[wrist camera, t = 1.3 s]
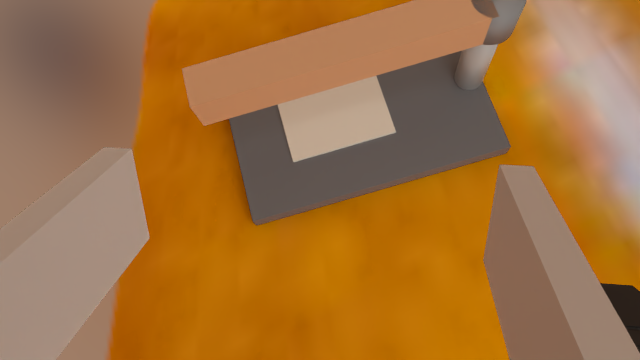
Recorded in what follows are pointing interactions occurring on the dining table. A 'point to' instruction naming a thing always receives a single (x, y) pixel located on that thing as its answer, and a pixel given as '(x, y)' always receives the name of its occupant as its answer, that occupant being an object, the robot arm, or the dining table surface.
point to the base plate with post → (368, 135)
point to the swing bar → (344, 54)
